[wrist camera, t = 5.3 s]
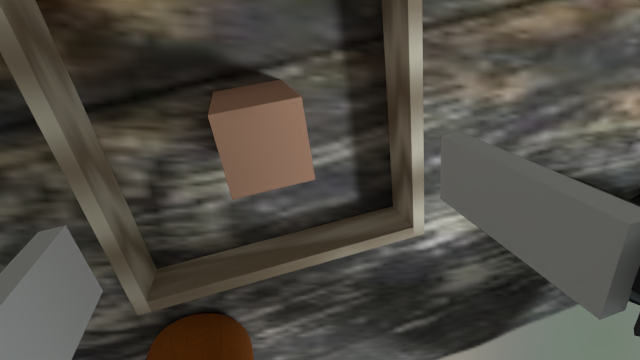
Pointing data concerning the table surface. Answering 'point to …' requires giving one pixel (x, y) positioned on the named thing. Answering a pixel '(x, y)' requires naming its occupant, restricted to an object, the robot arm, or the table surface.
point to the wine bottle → (202, 339)
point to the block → (261, 137)
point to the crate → (246, 261)
